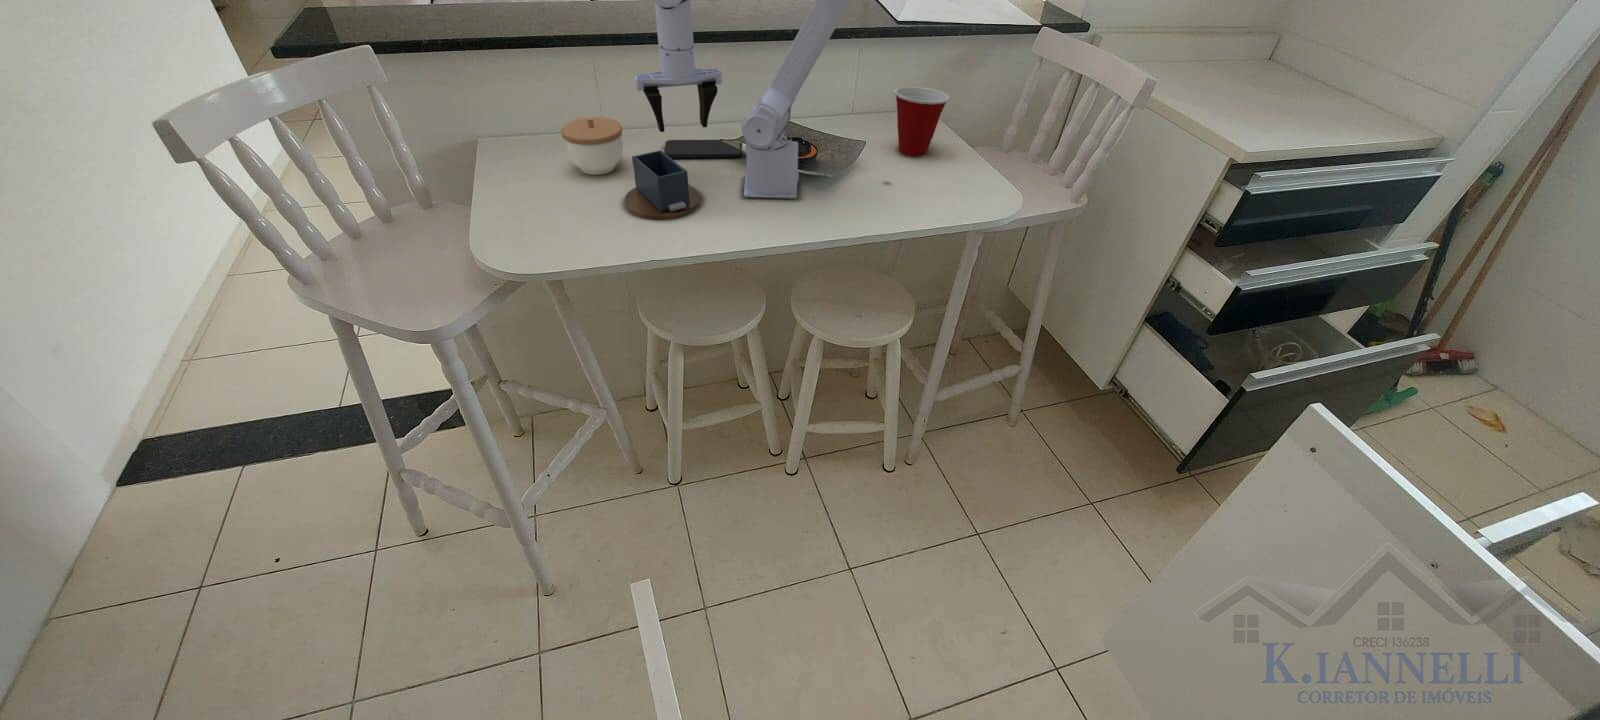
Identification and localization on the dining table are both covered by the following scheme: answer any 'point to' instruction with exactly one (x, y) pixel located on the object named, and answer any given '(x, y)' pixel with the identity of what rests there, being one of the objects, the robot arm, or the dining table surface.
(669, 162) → the bin
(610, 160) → the trinket box
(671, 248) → the dining table surface
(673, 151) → the phone
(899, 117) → the plastic cup
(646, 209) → the disc
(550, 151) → the dining table surface
